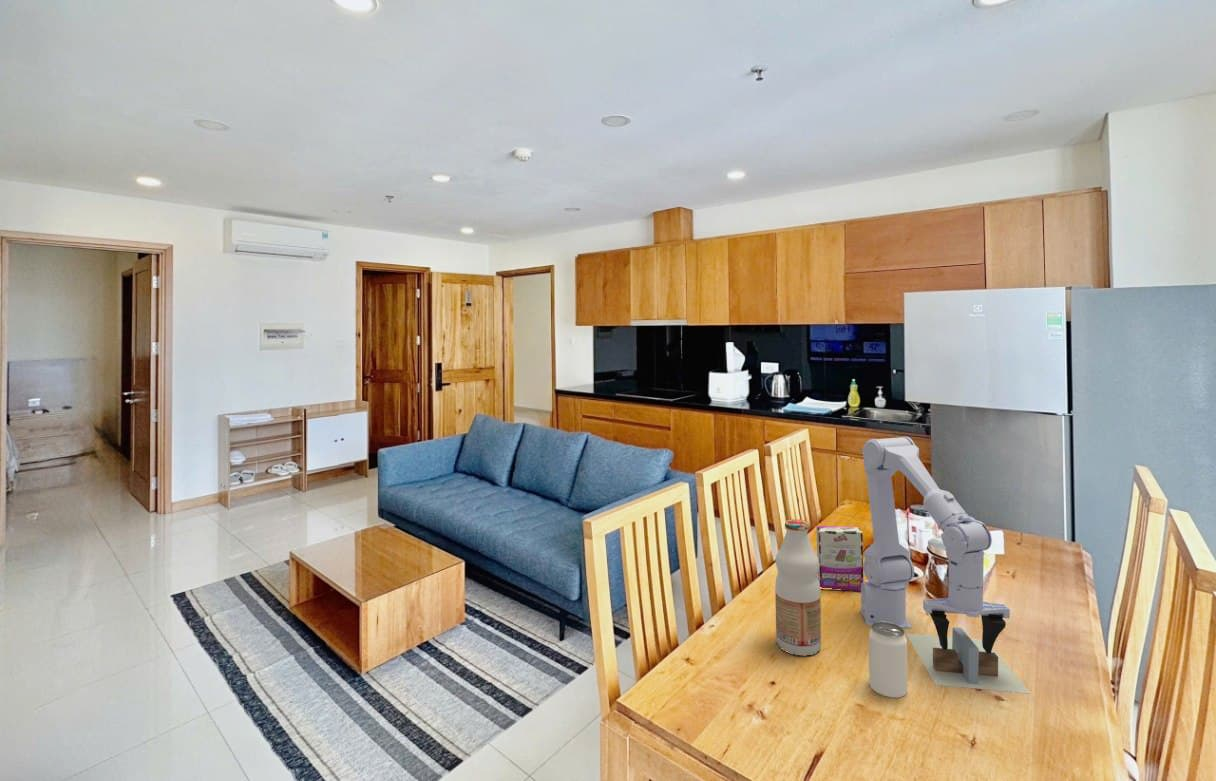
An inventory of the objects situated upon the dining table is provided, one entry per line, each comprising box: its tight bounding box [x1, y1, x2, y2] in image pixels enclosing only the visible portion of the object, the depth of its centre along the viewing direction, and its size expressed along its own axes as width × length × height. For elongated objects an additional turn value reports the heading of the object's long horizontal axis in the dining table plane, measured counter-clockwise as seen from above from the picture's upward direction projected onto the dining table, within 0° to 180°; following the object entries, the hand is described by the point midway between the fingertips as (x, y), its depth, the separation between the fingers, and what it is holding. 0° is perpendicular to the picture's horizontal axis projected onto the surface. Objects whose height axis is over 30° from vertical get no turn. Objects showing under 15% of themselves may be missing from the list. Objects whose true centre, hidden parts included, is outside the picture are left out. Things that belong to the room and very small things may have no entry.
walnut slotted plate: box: [933, 648, 998, 677], centre depth 108 cm, size 11×2×4 cm, turn 76°
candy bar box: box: [816, 525, 864, 592], centre depth 147 cm, size 11×5×16 cm, turn 77°
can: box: [868, 622, 908, 699], centre depth 104 cm, size 6×6×12 cm
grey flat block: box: [951, 626, 979, 684], centre depth 108 cm, size 2×8×7 cm, turn 167°
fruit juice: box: [774, 518, 822, 657], centre depth 119 cm, size 9×9×28 cm
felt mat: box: [905, 633, 1032, 695], centre depth 112 cm, size 16×19×1 cm
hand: (964, 648), depth 108 cm, fingers open, 7 cm apart
